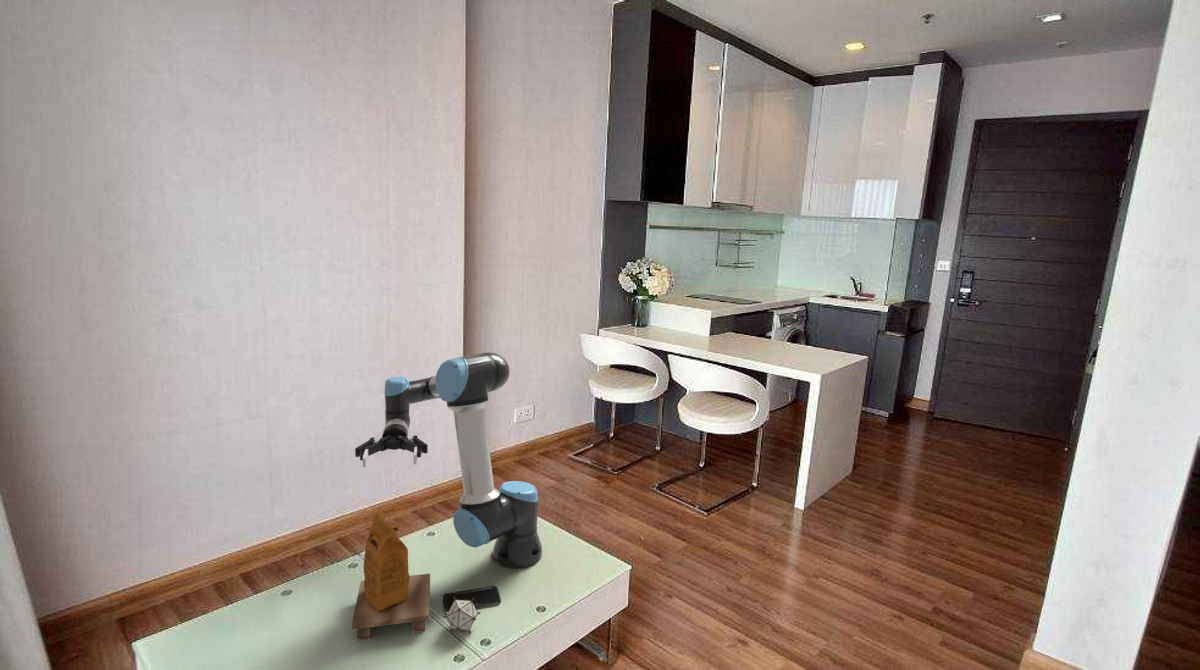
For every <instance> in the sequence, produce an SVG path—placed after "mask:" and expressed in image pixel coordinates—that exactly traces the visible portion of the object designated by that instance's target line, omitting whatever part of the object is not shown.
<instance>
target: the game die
mask: <svg viewBox="0 0 1200 670" xmlns="http://www.w3.org/2000/svg"><path fill="white" fill-rule="evenodd" d="M453 599H454V602H453V604H452V606H451V607H450V609H449V611H448V613H446V615H443V616H442V618H443V619H446V621H447V623H448V624H449V626H450V630H449V633H452V632H453V631H454V630H455V631H456V632H459V631H467V632H468V633H469V634H471V633H472V631H471V629H472V626H473V624H474V622H475V621H477V616H478V615H481V612H480V611H478V610H477V609H476V608H475V606H474V604H473V602H472V601H473V600H474V598H472V600H456V599H455V597H453Z"/></svg>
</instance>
